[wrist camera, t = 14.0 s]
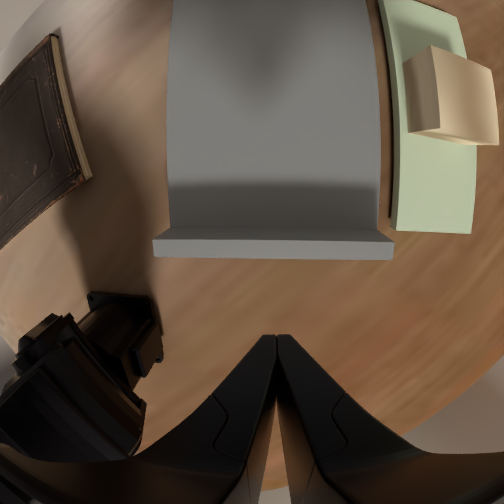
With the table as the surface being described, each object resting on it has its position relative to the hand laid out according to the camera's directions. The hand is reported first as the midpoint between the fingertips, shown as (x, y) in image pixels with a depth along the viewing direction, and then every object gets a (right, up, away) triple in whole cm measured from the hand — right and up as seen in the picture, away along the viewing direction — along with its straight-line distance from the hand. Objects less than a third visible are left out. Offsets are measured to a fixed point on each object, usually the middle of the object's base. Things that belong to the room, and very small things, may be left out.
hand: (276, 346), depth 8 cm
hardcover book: (-26, +12, +11) cm, 31 cm away
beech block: (+12, +13, +5) cm, 18 cm away
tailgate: (+8, +13, +7) cm, 17 cm away
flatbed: (+1, +13, +8) cm, 15 cm away
